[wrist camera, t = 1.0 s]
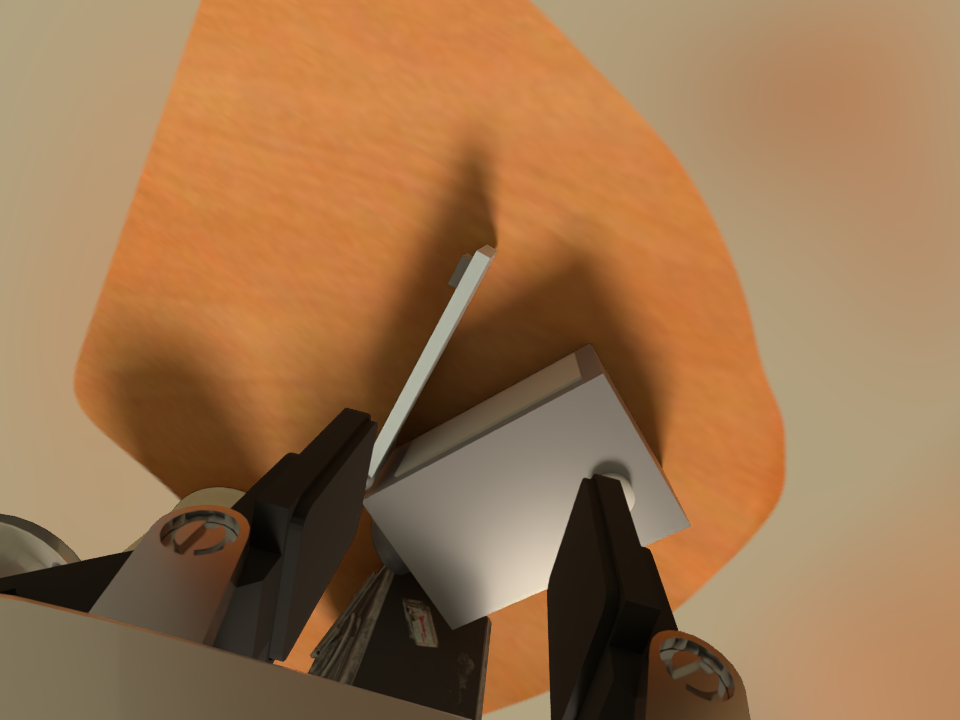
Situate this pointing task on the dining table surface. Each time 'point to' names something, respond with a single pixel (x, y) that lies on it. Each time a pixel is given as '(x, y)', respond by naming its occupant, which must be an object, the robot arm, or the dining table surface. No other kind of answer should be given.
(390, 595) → the camera
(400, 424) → the side door
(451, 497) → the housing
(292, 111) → the dining table surface
